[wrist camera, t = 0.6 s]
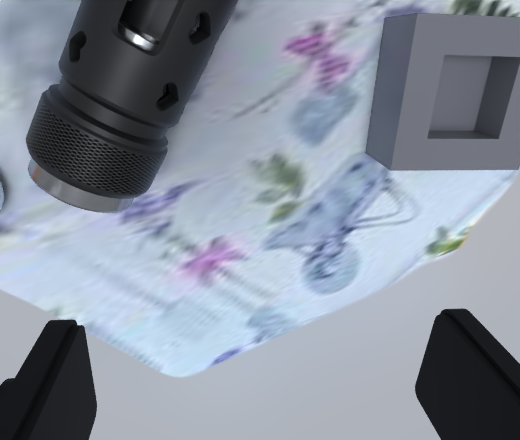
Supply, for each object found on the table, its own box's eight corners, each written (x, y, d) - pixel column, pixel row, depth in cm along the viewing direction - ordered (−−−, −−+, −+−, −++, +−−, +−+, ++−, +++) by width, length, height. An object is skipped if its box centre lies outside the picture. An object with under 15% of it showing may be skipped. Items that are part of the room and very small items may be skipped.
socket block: (384, 17, 34) (417, 13, 29) (510, 23, 35) (564, 19, 30) (365, 152, 39) (390, 170, 34) (476, 152, 40) (518, 169, 35)
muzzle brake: (300, -119, 30) (342, -195, 20) (147, 188, 38) (127, 235, 29) (186, -213, 27) (172, -352, 17) (48, 141, 35) (-10, 176, 26)
